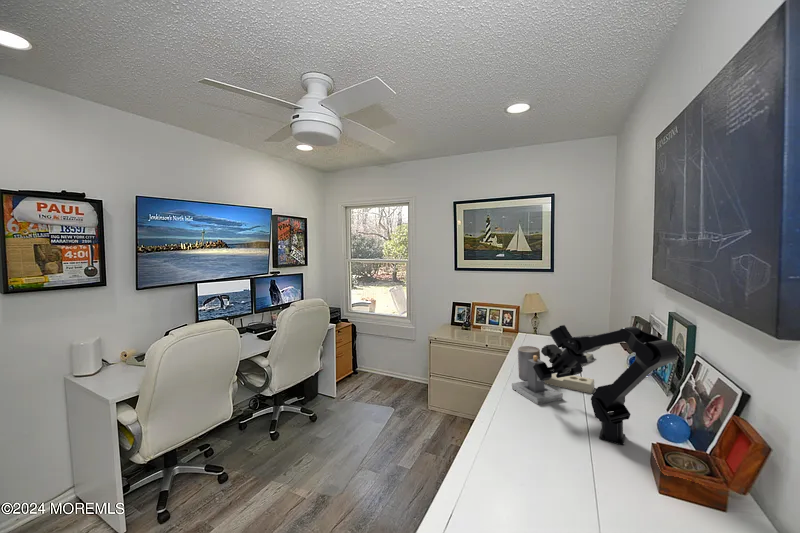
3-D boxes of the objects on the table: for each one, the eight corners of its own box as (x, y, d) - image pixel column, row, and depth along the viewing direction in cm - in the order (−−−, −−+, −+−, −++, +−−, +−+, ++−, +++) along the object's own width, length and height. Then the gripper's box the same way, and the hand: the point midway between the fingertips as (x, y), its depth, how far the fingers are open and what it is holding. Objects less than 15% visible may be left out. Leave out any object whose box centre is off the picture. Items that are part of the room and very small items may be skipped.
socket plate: (562, 399, 132) (562, 393, 132) (537, 404, 129) (537, 398, 128) (535, 384, 147) (535, 379, 147) (512, 388, 144) (511, 383, 144)
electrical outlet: (549, 370, 153) (594, 378, 142) (550, 379, 154) (594, 388, 142) (545, 375, 148) (591, 384, 136) (545, 384, 148) (591, 394, 136)
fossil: (599, 360, 178) (569, 350, 193) (599, 352, 177) (569, 343, 192) (576, 369, 168) (546, 358, 183) (576, 360, 168) (546, 350, 183)
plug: (544, 392, 136) (543, 356, 136) (535, 394, 135) (534, 358, 134) (536, 388, 141) (536, 353, 140) (528, 390, 139) (527, 355, 139)
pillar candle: (537, 373, 160) (535, 342, 159) (543, 381, 150) (542, 348, 149) (516, 374, 161) (515, 343, 160) (521, 382, 151) (520, 349, 150)
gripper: (575, 336, 128) (555, 357, 139) (535, 342, 123) (517, 363, 134) (593, 362, 121) (570, 382, 132) (551, 370, 116) (531, 389, 127)
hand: (547, 378), depth 131 cm, fingers open, 9 cm apart
